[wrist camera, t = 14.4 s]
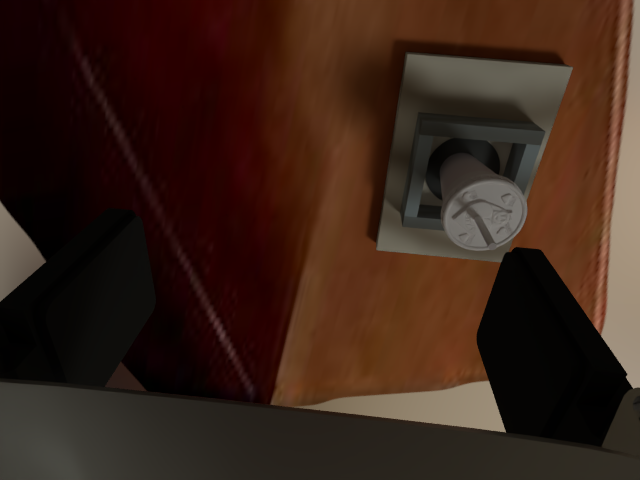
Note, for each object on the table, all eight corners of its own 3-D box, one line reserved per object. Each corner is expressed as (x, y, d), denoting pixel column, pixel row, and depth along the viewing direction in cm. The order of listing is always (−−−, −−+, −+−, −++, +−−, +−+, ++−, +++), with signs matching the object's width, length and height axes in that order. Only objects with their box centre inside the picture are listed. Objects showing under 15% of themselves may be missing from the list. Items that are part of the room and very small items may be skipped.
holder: (405, 51, 37) (411, 58, 34) (565, 64, 37) (589, 73, 33) (376, 242, 48) (377, 265, 44) (500, 255, 47) (513, 278, 43)
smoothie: (426, 141, 40) (455, 207, 28) (497, 135, 39) (558, 201, 27) (425, 202, 43) (450, 285, 31) (490, 198, 42) (543, 282, 30)
